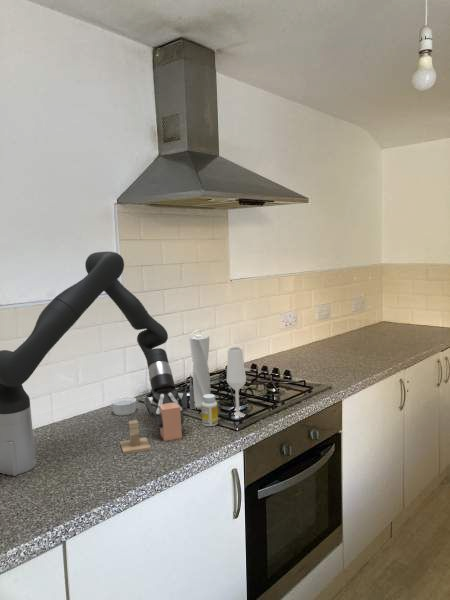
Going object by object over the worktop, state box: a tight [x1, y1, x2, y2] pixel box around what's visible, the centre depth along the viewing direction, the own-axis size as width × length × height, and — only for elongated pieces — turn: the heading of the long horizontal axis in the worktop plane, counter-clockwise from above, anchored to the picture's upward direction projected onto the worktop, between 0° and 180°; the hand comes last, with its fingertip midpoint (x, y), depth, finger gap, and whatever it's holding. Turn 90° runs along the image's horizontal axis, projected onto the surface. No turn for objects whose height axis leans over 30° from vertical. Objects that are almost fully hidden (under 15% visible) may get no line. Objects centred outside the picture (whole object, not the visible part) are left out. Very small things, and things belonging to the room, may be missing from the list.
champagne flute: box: [226, 346, 247, 417], centre depth 169 cm, size 7×7×24 cm
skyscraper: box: [188, 328, 211, 410], centre depth 182 cm, size 8×8×28 cm
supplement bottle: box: [201, 393, 219, 427], centre depth 165 cm, size 5×5×10 cm
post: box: [119, 419, 152, 455], centre depth 149 cm, size 8×8×8 cm
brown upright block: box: [159, 402, 183, 442], centre depth 156 cm, size 6×6×10 cm
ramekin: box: [111, 396, 137, 416], centre depth 180 cm, size 9×9×4 cm
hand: (171, 425), depth 154 cm, fingers closed on brown upright block, 5 cm apart
